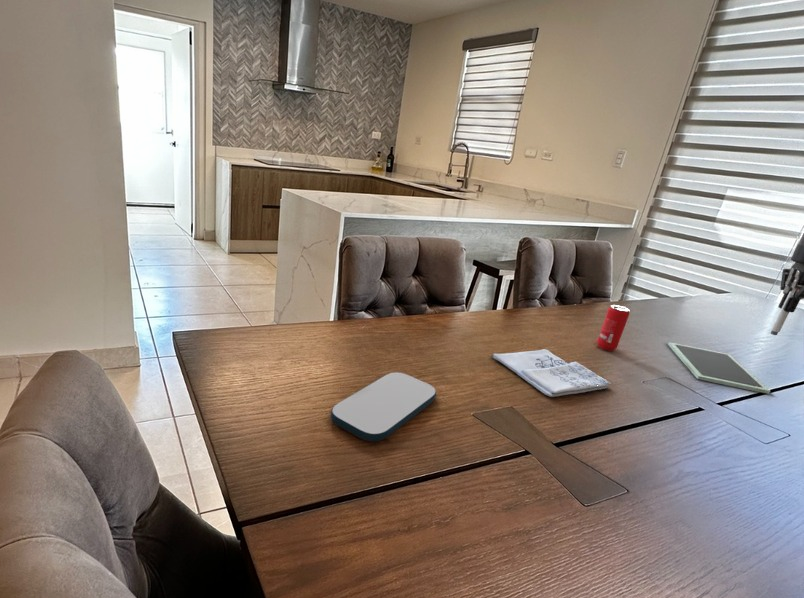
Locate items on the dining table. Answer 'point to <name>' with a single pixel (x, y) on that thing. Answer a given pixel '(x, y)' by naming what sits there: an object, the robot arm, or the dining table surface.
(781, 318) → the stylus
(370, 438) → the external hard drive
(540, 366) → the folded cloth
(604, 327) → the beverage can
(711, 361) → the tablet
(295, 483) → the dining table surface
